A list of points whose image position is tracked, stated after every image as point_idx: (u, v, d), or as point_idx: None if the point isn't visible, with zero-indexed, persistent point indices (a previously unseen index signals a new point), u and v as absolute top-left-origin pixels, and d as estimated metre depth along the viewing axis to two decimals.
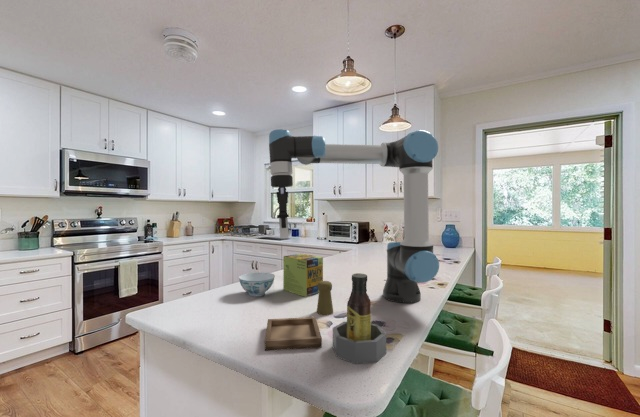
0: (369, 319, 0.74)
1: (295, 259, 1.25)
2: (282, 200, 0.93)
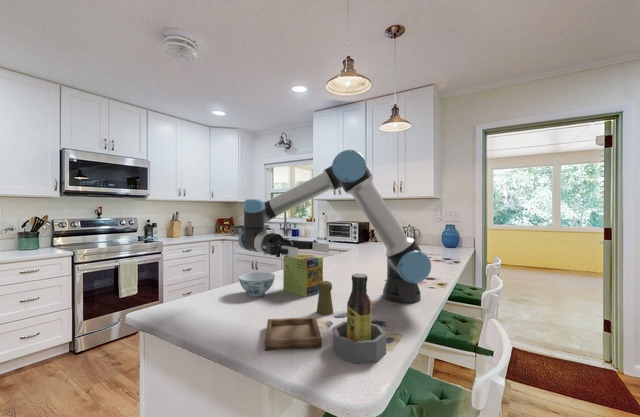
0: (369, 319, 0.74)
1: (295, 259, 1.25)
2: (267, 248, 0.90)
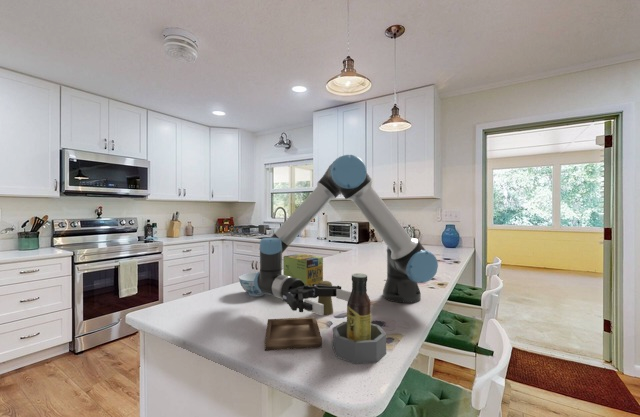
0: (369, 319, 0.74)
1: (295, 259, 1.25)
2: (288, 300, 0.83)
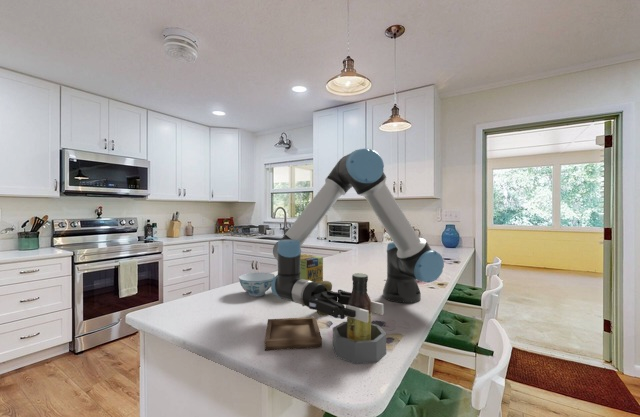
0: (369, 319, 0.74)
1: None
2: (321, 307, 0.77)
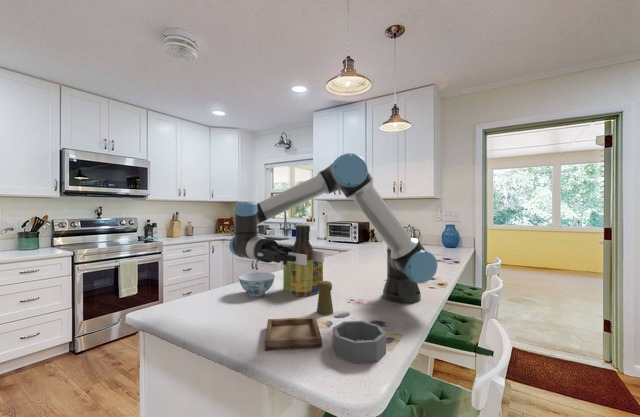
0: (310, 265, 0.81)
1: None
2: (267, 255, 0.82)
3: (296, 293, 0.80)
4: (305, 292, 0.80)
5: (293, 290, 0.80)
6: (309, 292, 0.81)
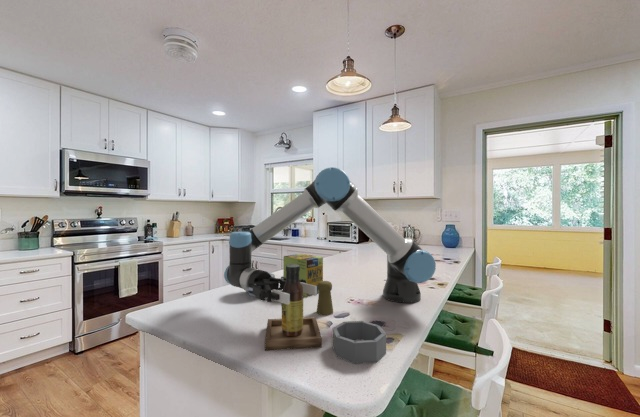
0: (300, 305, 0.82)
1: (295, 259, 1.25)
2: (255, 291, 0.84)
3: (287, 332, 0.82)
4: (296, 331, 0.81)
5: (284, 329, 0.82)
6: (300, 331, 0.83)
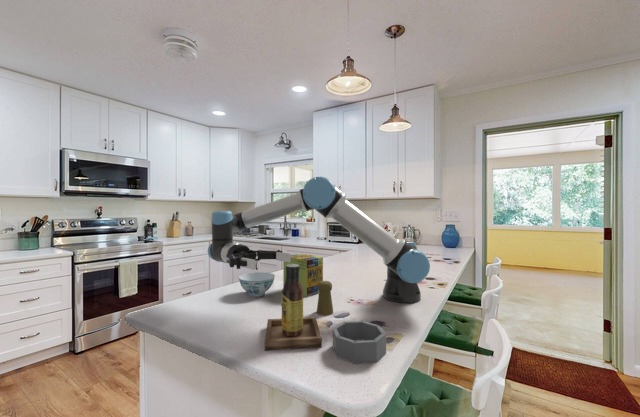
0: (300, 305, 0.82)
1: (295, 259, 1.25)
2: None
3: (287, 332, 0.82)
4: (296, 331, 0.81)
5: (284, 329, 0.82)
6: (300, 331, 0.83)
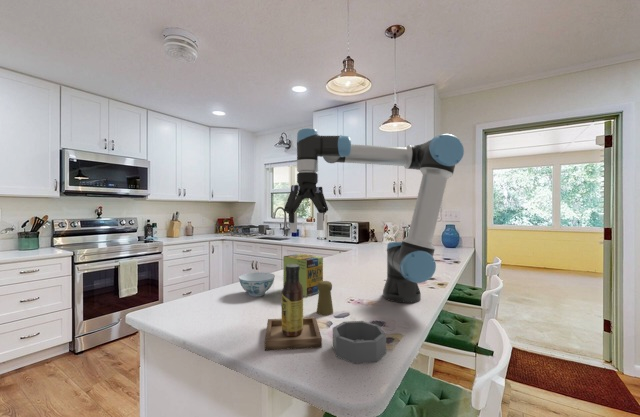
0: (300, 305, 0.82)
1: (295, 259, 1.25)
2: (290, 197, 0.99)
3: (287, 332, 0.82)
4: (296, 331, 0.81)
5: (284, 329, 0.82)
6: (300, 331, 0.83)
